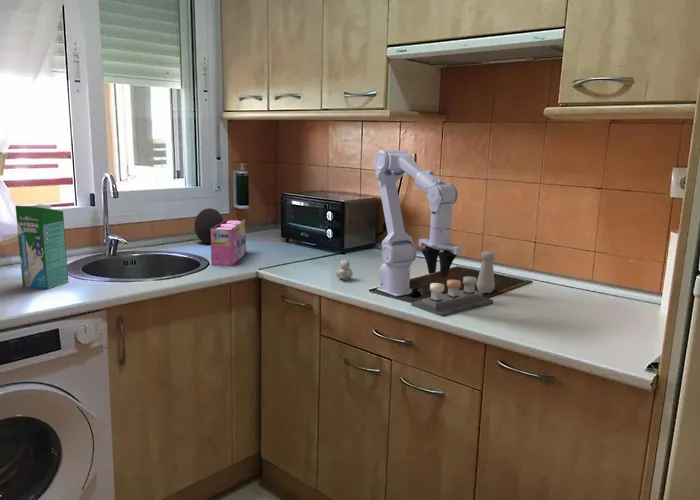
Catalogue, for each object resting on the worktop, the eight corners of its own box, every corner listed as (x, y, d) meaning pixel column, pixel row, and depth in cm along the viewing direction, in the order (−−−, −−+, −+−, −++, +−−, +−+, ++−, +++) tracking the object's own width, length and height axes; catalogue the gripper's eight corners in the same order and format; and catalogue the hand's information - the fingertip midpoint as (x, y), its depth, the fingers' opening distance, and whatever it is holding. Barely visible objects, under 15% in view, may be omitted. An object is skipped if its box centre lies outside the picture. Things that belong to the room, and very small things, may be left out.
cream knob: (426, 298, 167) (427, 284, 166) (436, 296, 170) (437, 282, 169) (436, 301, 164) (437, 287, 163) (446, 299, 167) (447, 285, 166)
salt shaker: (481, 288, 190) (484, 249, 187) (497, 291, 186) (500, 252, 184) (472, 292, 185) (475, 251, 183) (489, 295, 182) (492, 254, 179)
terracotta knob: (443, 294, 172) (444, 280, 171) (452, 292, 174) (453, 278, 173) (453, 297, 168) (454, 283, 168) (462, 295, 171) (463, 281, 170)
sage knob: (459, 291, 176) (460, 277, 175) (468, 289, 178) (469, 275, 177) (469, 294, 173) (470, 280, 172) (478, 292, 175) (479, 278, 174)
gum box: (227, 251, 235) (227, 218, 232) (247, 252, 234) (247, 219, 231) (210, 265, 211) (209, 228, 208) (232, 266, 211) (231, 229, 208)
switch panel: (411, 305, 170) (411, 296, 169) (462, 293, 183) (462, 285, 182) (441, 316, 160) (442, 307, 160) (492, 303, 174) (493, 294, 173)
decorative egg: (206, 239, 258) (205, 205, 254) (230, 242, 253) (229, 207, 250) (188, 244, 246) (187, 209, 243) (213, 247, 242) (212, 211, 239)
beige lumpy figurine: (354, 278, 199) (355, 255, 197) (349, 283, 192) (349, 259, 191) (339, 276, 200) (339, 254, 198) (333, 281, 194) (334, 257, 192)
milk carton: (68, 282, 184) (62, 203, 179) (47, 289, 176) (40, 207, 171) (45, 279, 187) (38, 201, 181) (22, 286, 178) (14, 205, 173)
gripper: (412, 224, 166) (409, 271, 169) (450, 232, 155) (447, 282, 157) (429, 222, 170) (427, 268, 173) (467, 230, 159) (464, 278, 162)
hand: (437, 274), depth 165 cm, fingers open, 4 cm apart
